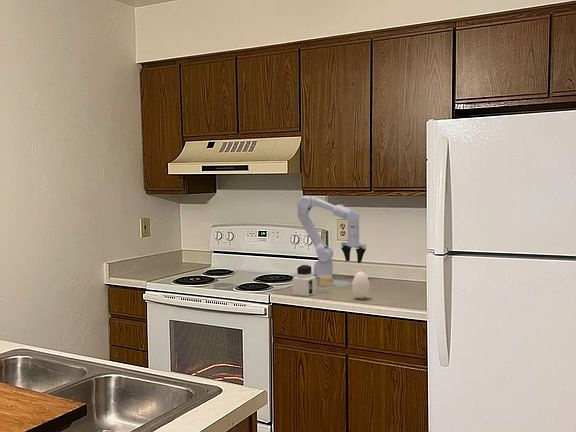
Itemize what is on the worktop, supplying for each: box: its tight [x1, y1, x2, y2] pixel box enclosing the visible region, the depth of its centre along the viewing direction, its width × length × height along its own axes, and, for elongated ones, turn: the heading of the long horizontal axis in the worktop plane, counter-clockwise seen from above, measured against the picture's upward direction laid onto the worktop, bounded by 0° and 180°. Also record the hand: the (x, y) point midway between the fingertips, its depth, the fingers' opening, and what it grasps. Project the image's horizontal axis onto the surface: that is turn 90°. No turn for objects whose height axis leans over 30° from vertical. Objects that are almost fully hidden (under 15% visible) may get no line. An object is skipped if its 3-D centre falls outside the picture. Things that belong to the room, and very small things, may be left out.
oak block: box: [317, 275, 334, 287], centre depth 288 cm, size 6×6×4 cm
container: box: [292, 264, 317, 297], centre depth 271 cm, size 8×8×13 cm
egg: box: [351, 271, 371, 300], centre depth 260 cm, size 7×7×12 cm
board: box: [316, 279, 353, 290], centre depth 290 cm, size 14×21×1 cm, turn 131°
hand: (353, 261), depth 304 cm, fingers open, 7 cm apart
